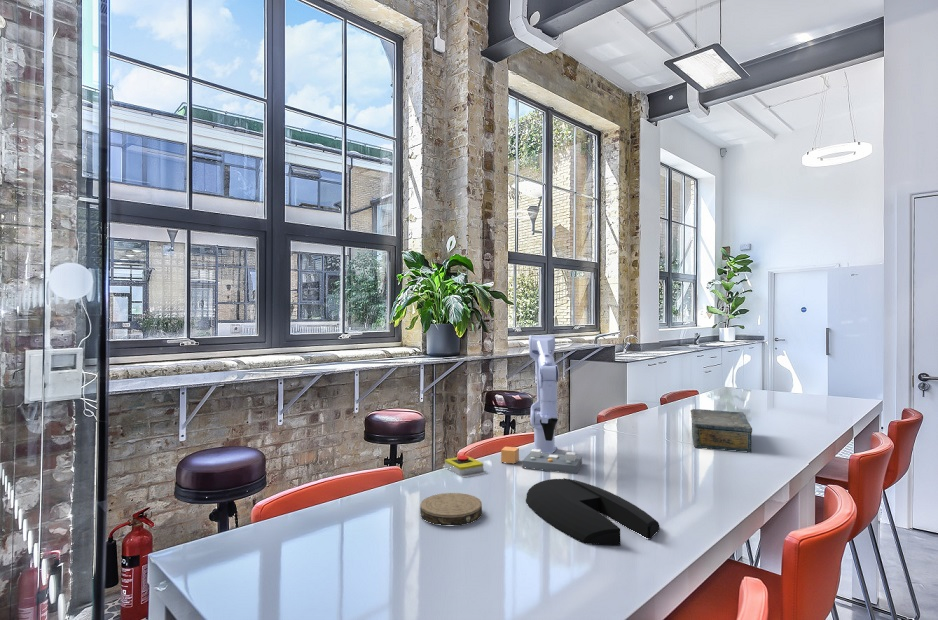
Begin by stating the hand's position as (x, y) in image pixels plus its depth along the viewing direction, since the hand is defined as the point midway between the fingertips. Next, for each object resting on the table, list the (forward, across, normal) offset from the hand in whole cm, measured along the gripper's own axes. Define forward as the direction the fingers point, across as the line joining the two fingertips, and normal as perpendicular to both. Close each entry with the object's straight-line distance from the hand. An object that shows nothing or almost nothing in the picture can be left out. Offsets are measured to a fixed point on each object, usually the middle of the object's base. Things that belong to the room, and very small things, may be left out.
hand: (549, 440), depth 178 cm
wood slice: (+9, +52, -15) cm, 55 cm away
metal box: (+9, -56, +58) cm, 81 cm away
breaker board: (+8, +1, +1) cm, 9 cm away
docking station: (+9, +39, +17) cm, 43 cm away
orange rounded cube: (+8, +1, -14) cm, 16 cm away
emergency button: (+9, +15, -26) cm, 31 cm away
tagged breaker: (+8, 0, +1) cm, 8 cm away
